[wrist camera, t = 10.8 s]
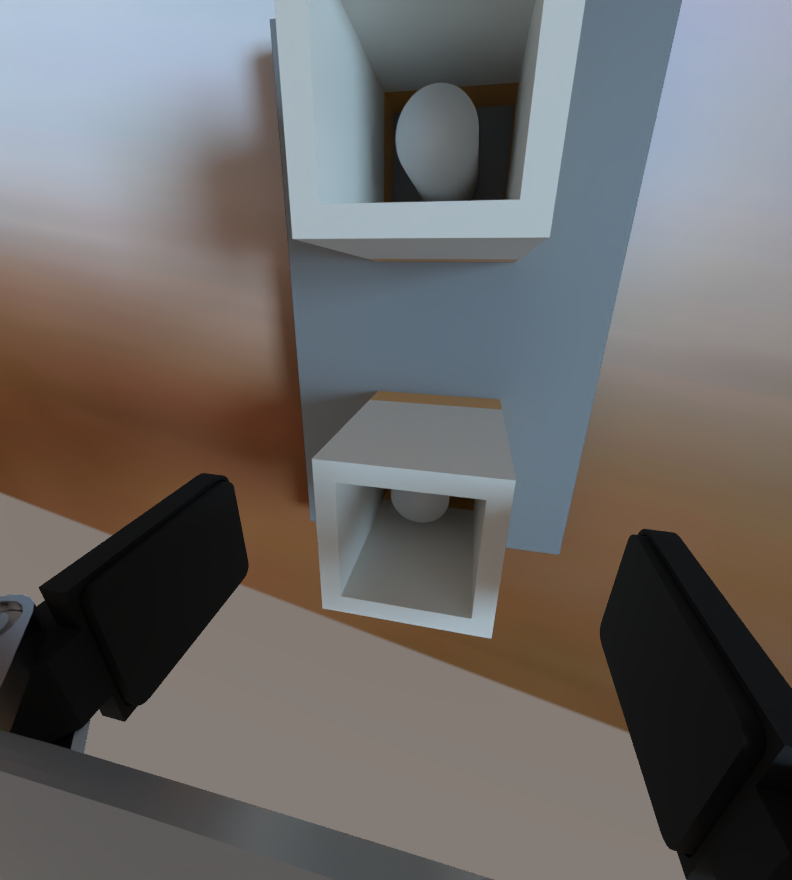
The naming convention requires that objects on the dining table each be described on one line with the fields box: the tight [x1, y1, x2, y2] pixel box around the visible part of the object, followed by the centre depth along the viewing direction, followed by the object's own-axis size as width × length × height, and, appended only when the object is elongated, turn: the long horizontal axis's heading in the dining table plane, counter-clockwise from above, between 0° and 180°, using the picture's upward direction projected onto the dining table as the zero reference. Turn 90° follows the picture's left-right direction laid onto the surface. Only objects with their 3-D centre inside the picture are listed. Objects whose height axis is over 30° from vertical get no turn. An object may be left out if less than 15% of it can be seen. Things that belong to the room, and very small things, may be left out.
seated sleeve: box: [274, 0, 585, 262], centre depth 9 cm, size 5×5×7 cm
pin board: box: [270, 0, 682, 555], centre depth 13 cm, size 19×12×6 cm, turn 179°
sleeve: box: [312, 391, 516, 638], centre depth 13 cm, size 5×5×7 cm
